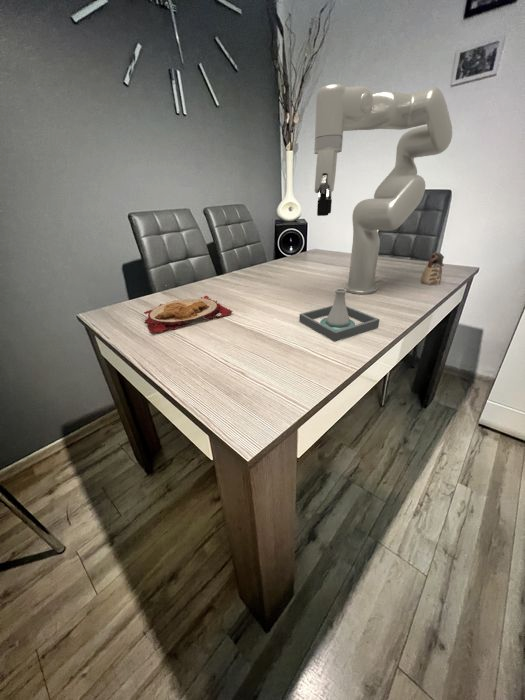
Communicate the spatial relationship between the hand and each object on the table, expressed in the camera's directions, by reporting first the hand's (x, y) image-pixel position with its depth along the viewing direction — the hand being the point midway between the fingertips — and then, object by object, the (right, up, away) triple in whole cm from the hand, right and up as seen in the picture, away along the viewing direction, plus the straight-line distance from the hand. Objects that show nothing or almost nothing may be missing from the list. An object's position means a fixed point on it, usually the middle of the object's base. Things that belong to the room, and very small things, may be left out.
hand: (324, 214), depth 84 cm
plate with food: (-47, -30, +11) cm, 56 cm away
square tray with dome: (+3, -34, -4) cm, 35 cm away
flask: (+3, -34, -4) cm, 35 cm away
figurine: (+50, -15, +28) cm, 59 cm away
